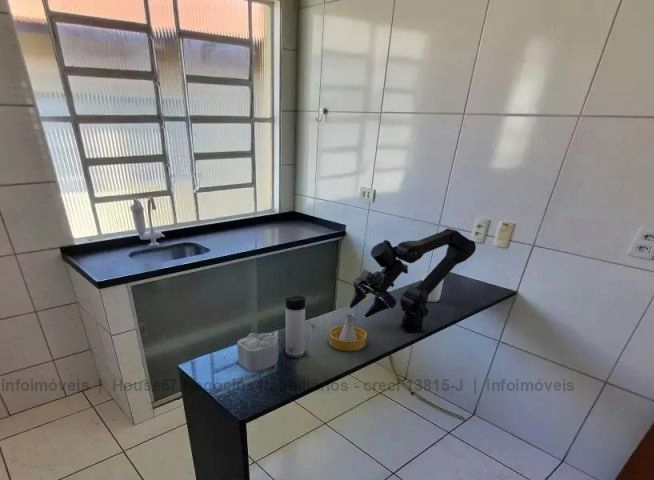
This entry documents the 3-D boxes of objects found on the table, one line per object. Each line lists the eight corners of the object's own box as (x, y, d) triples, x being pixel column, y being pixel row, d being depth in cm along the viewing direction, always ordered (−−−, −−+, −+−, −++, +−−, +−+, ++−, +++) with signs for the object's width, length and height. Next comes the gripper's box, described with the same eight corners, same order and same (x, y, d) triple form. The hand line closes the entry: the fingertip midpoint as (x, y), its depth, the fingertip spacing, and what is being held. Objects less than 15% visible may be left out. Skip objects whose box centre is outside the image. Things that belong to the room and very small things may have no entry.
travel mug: (291, 359, 133) (291, 302, 123) (282, 351, 138) (282, 295, 128) (308, 355, 136) (309, 298, 125) (298, 347, 141) (299, 292, 130)
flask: (361, 344, 141) (364, 318, 136) (342, 347, 140) (344, 320, 134) (352, 336, 147) (354, 310, 142) (334, 339, 145) (335, 313, 140)
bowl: (360, 334, 150) (361, 324, 147) (369, 351, 139) (371, 340, 136) (325, 336, 149) (326, 326, 146) (332, 352, 138) (332, 342, 135)
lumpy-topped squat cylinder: (234, 360, 133) (232, 336, 128) (267, 349, 140) (266, 326, 135) (252, 373, 126) (250, 348, 121) (285, 361, 133) (285, 337, 128)
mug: (447, 297, 182) (452, 273, 176) (432, 304, 175) (437, 279, 170) (430, 292, 188) (434, 269, 182) (415, 298, 181) (419, 275, 175)
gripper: (359, 253, 139) (330, 290, 141) (393, 268, 125) (360, 308, 126) (376, 273, 146) (347, 307, 148) (410, 289, 132) (378, 326, 134)
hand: (357, 311), depth 139 cm, fingers open, 9 cm apart
